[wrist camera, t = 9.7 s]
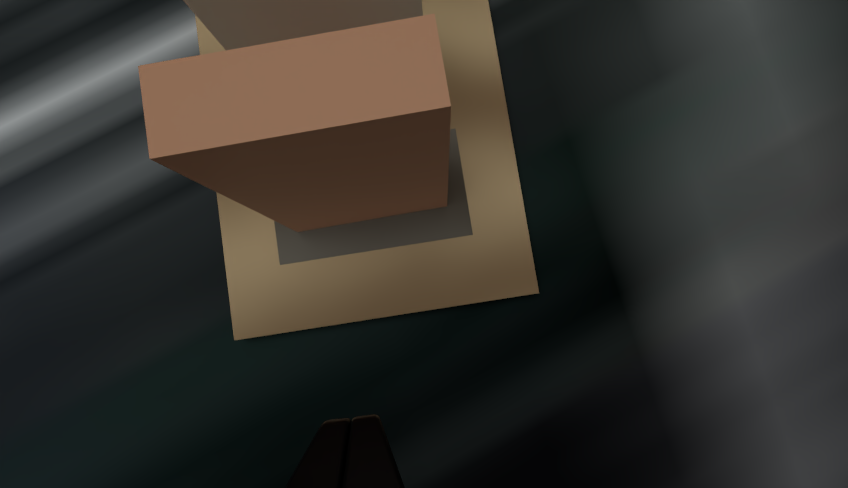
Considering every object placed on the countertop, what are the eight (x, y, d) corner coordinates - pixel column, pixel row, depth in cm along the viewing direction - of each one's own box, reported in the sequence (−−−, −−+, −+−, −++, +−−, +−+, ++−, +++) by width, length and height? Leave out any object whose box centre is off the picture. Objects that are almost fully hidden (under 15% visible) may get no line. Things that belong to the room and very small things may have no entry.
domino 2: (447, 206, 20) (451, 106, 10) (297, 232, 20) (149, 158, 10) (438, 159, 20) (434, 13, 10) (290, 184, 20) (138, 66, 10)
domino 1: (428, 91, 20) (413, -116, 10) (281, 115, 20) (125, -68, 10) (420, 46, 20) (399, -201, 10) (275, 70, 20) (116, -153, 10)
